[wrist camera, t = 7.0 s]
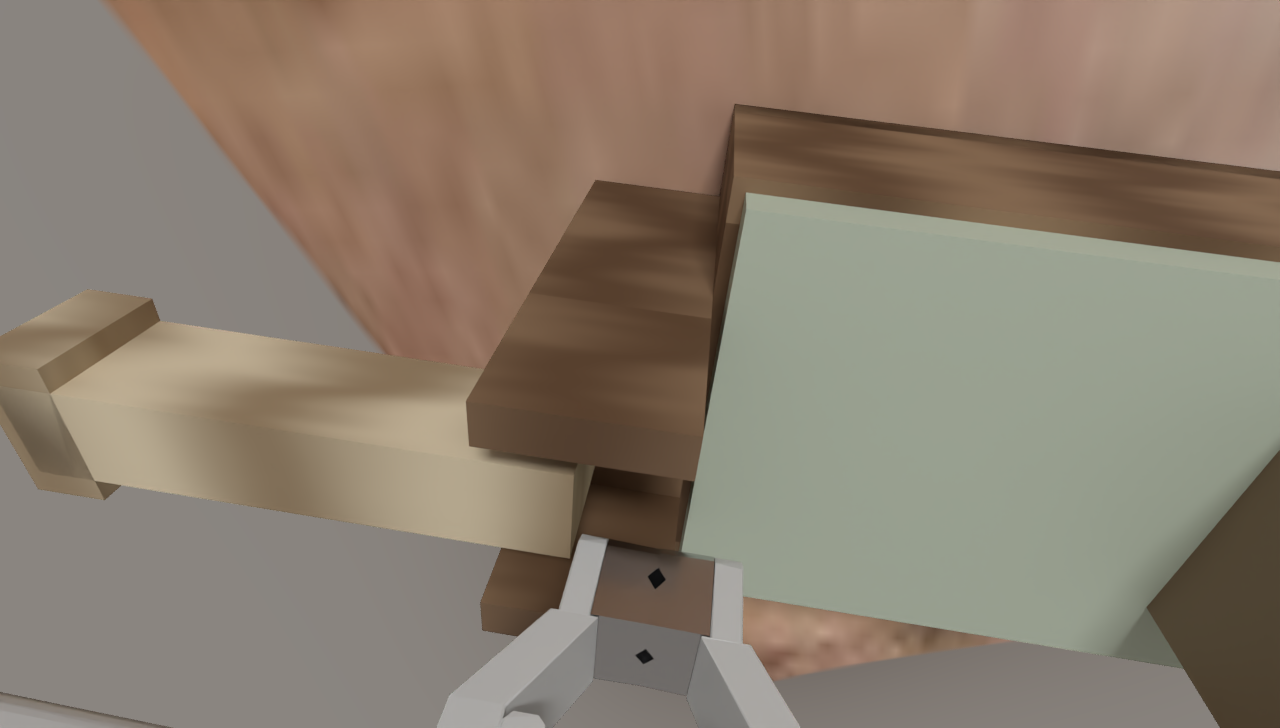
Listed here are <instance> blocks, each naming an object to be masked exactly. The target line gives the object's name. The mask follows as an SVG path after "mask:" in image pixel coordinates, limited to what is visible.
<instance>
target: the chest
mask: <svg viewBox="0 0 1280 728" xmlns="http://www.w3.org/2000/svg"><path fill="white" fill-rule="evenodd" d="M746 193H754V194H762V195H769V196H777V197H785V198H792V199H800V200H807V201H815V202H823V203H830V204H838V205H845V206H853V207H861V208H868V209H876V210H884V211H891V212H899V213H906V214H914V215H922V216H929V217H937V218H945V219H952V220H960V221H967V222H975V223H983V224H990V225H998V226H1006V227H1013V228H1021V229H1028V230H1036V231H1044V232H1051V233H1059V234H1066V235H1074V236H1082V237H1089V238H1097V239H1105V240H1112V241H1120V242H1127V243H1135V244H1143V245H1150V246H1158V247H1166V248H1173V249H1181V250H1188V251H1196V252H1204V253H1211V254H1219V255H1227V256H1234V257H1242V258H1249V259H1257V260H1265V261H1272V262H1280V171H1272V170H1264V169H1255V168H1247V167H1239V166H1231V165H1223V164H1215V163H1207V162H1199V161H1191V160H1183V159H1175V158H1167V157H1159V156H1151V155H1143V154H1135V153H1126V152H1118V151H1110V150H1102V149H1094V148H1086V147H1078V146H1070V145H1062V144H1054V143H1046V142H1038V141H1030V140H1022V139H1014V138H1006V137H997V136H989V135H981V134H973V133H965V132H957V131H949V130H941V129H933V128H925V127H917V126H909V125H901V124H893V123H885V122H877V121H868V120H860V119H852V118H844V117H836V116H828V115H820V114H812V113H804V112H796V111H788V110H780V109H772V108H764V107H756V106H748V105H739V104H735V107H734V113H733V119H732V125H731V131H730V137H729V143H728V149H727V155H726V161H725V167H724V173H723V180H722V186H721V192H720V196H712V195H705V194H697V193H690V192H682V191H674V190H667V189H659V188H652V187H644V186H636V185H629V184H621V183H614V182H606V181H599V180H595V182H594V184H593V186H592V187H591V189H590V191H589V192H588V194H587V196H586V197H585V199H584V201H583V203H582V204H581V206H580V208H579V209H578V211H577V213H576V214H575V216H574V218H573V220H572V221H571V223H570V225H569V226H568V228H567V230H566V231H565V233H564V235H563V237H562V238H561V240H560V242H559V243H558V245H557V247H556V248H555V250H554V252H553V254H552V255H551V257H550V259H549V260H548V262H547V264H546V265H545V267H544V269H543V271H542V272H541V274H540V276H539V277H538V279H537V281H536V283H535V284H534V286H533V288H532V289H531V291H530V293H529V294H528V296H527V298H526V300H525V301H524V303H523V305H522V306H521V308H520V310H519V311H518V313H517V315H516V317H515V318H514V320H513V322H512V323H511V325H510V327H509V328H508V330H507V332H506V334H505V335H504V337H503V339H502V340H501V342H500V344H499V345H498V347H497V349H496V351H495V352H494V354H493V356H492V357H491V359H490V361H489V362H488V364H487V366H486V368H485V369H484V371H483V373H482V374H481V376H480V378H479V379H478V381H477V383H476V385H475V386H474V388H473V390H472V391H471V393H470V395H469V396H468V398H467V400H466V412H467V426H468V439H469V446H470V447H476V448H483V449H489V450H495V451H502V452H508V453H515V454H521V455H528V456H534V457H540V458H547V459H553V460H560V461H566V462H573V463H579V464H585V465H592V466H595V468H594V471H593V475H592V479H591V482H590V486H589V490H588V494H587V497H586V501H585V505H584V508H583V512H582V516H581V520H580V523H579V527H578V531H577V534H576V538H575V542H574V545H573V549H572V553H571V557H570V559H569V558H563V557H557V556H550V555H544V554H538V553H532V552H526V551H520V550H514V549H508V548H501V550H500V553H499V556H498V558H497V561H496V563H495V566H494V568H493V571H492V574H491V576H490V579H489V581H488V584H487V587H486V589H485V592H484V594H483V597H482V599H481V602H480V603H481V604H480V605H481V617H482V630H483V631H489V632H495V633H500V634H506V635H512V636H519V635H520V634H521V633H522V632H523V631H525V630H526V629H527V628H528V627H529V626H530V625H532V624H533V623H534V622H535V621H536V620H537V619H539V618H540V617H541V616H542V615H543V614H544V613H546V612H547V611H548V610H549V609H550V608H553V609H559V606H560V603H561V599H562V596H563V592H564V589H565V585H566V582H567V578H568V575H569V571H570V568H571V565H572V561H573V558H574V554H575V551H576V547H577V544H578V541H579V539H580V537H581V535H582V534H586V535H591V536H596V537H602V538H607V539H613V540H618V541H623V542H627V543H632V544H637V545H642V546H647V547H652V548H657V549H661V548H662V549H668V550H675V551H679V548H680V542H681V537H682V532H683V526H684V521H685V516H686V510H687V505H688V500H689V494H690V489H691V484H692V481H695V478H696V473H697V468H698V462H699V457H700V452H701V447H702V441H703V434H704V419H705V409H706V403H707V398H708V393H709V387H710V382H711V377H712V371H713V366H714V360H715V355H716V350H717V344H718V339H719V334H720V328H721V323H722V318H723V312H724V307H725V302H726V296H727V291H728V286H729V280H730V275H731V269H732V264H733V259H734V253H735V248H736V243H737V237H738V232H739V227H740V221H741V216H742V211H743V205H744V200H745V194H746Z"/></svg>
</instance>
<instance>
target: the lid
mask: <svg viewBox="0 0 1280 728" xmlns="http://www.w3.org/2000/svg"><path fill="white" fill-rule="evenodd" d="M679 551H681V552H687V553H693V554H699V555H705V556H712V557H714V558H720V559H725V560H731V561H737V562H742V565H743V567H744V573H743V596H745V597H751V598H757V599H763V600H769V601H775V602H781V603H788V604H794V605H800V606H806V607H812V608H818V609H824V610H830V611H836V612H842V613H848V614H854V615H860V616H867V617H873V618H879V619H885V620H891V621H897V622H903V623H909V624H915V625H921V626H927V627H933V628H939V629H946V630H952V631H958V632H964V633H970V634H976V635H982V636H988V637H994V638H1000V639H1006V640H1012V641H1018V642H1025V643H1031V644H1037V645H1043V646H1049V647H1055V648H1061V649H1067V650H1073V651H1080V652H1086V653H1092V654H1097V655H1104V656H1110V657H1116V658H1122V659H1128V660H1134V661H1140V662H1146V663H1152V664H1159V665H1164V666H1171V667H1177V668H1183V669H1184V670H1185V671H1186V673H1187V675H1188V676H1189V678H1190V679H1191V681H1192V683H1193V684H1194V686H1195V688H1196V689H1197V691H1198V693H1199V694H1200V696H1201V697H1202V699H1203V701H1204V702H1205V704H1206V706H1207V707H1208V709H1209V710H1210V712H1211V714H1212V715H1213V717H1214V718H1215V720H1216V722H1217V723H1218V725H1219V726H1220V728H1280V262H1272V261H1265V260H1257V259H1249V258H1242V257H1234V256H1227V255H1219V254H1211V253H1204V252H1196V251H1188V250H1181V249H1173V248H1166V247H1158V246H1150V245H1143V244H1135V243H1127V242H1120V241H1112V240H1105V239H1097V238H1089V237H1082V236H1074V235H1066V234H1059V233H1051V232H1044V231H1036V230H1028V229H1021V228H1013V227H1006V226H998V225H990V224H983V223H975V222H967V221H960V220H952V219H945V218H937V217H929V216H922V215H914V214H906V213H899V212H891V211H884V210H876V209H868V208H861V207H853V206H845V205H838V204H830V203H823V202H815V201H807V200H800V199H792V198H785V197H777V196H769V195H762V194H754V193H746V194H745V200H744V205H743V211H742V216H741V221H740V227H739V232H738V237H737V243H736V248H735V253H734V259H733V264H732V269H731V275H730V280H729V286H728V291H727V296H726V302H725V307H724V312H723V318H722V323H721V328H720V334H719V339H718V344H717V350H716V355H715V360H714V366H713V371H712V377H711V382H710V387H709V393H708V398H707V403H706V409H705V419H704V434H703V441H702V447H701V452H700V457H699V462H698V468H697V473H696V478H695V481H692V484H691V489H690V494H689V500H688V505H687V510H686V516H685V521H684V526H683V532H682V537H681V542H680V548H679Z"/></svg>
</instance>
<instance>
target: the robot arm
mask: <svg viewBox="0 0 1280 728" xmlns="http://www.w3.org/2000/svg"><path fill="white" fill-rule="evenodd" d="M743 573H744V567H743V565H742V562H737V561H731V560H725V559H720V558H714V557H712V556H705V555H699V554H693V553H687V552H681V551H675V550H668V549H662V548H661V549H657V548H652V547H647V546H642V545H637V544H632V543H627V542H623V541H618V540H613V539H607V538H602V537H596V536H591V535H586V534H582V535H581V537H580V539H579V541H578V544H577V547H576V551H575V554H574V558H573V561H572V565H571V568H570V571H569V575H568V578H567V582H566V585H565V589H564V592H563V596H562V599H561V603H560V606H559V609H553V608H550V609H549V610H548V611H547V612H546V613H544V614H543V615H542V616H541V617H540V618H539V619H537V620H536V621H535V622H534V623H533V624H532V625H530V626H529V627H528V628H527V629H526V630H525V631H523V632H522V633H521V634H520V635H519V636H518V637H516V638H515V639H514V640H513V641H512V642H511V643H510V644H508V645H507V646H506V647H505V648H504V649H502V650H501V651H500V652H499V653H498V654H497V655H496V656H494V657H493V658H492V659H491V660H490V661H489V662H487V663H486V664H485V665H484V666H483V667H482V668H480V669H479V670H478V671H477V672H476V673H475V674H473V675H472V676H471V677H470V678H469V679H468V680H466V681H465V682H464V683H463V684H462V685H461V686H459V687H458V688H457V689H456V690H455V691H454V692H452V693H451V694H450V695H449V697H448V700H447V702H446V705H445V707H444V710H443V712H442V715H441V717H440V719H439V722H438V724H437V727H436V728H553V727H554V725H555V724H556V723H557V722H558V721H559V720H560V718H561V717H562V716H563V715H564V714H565V713H566V712H567V710H568V709H569V708H570V707H571V706H572V704H574V702H575V701H576V700H577V699H578V698H579V697H580V696H581V694H582V693H583V692H584V691H585V690H586V689H587V688H588V686H589V685H590V684H591V683H592V682H593V678H595V679H601V680H608V681H613V682H619V683H626V684H632V685H638V686H643V687H647V688H652V689H656V690H661V691H666V692H670V693H675V694H679V695H684V696H687V698H686V699H687V702H688V704H689V706H690V709H691V711H692V713H693V716H694V718H695V721H696V723H697V725H698V728H801V727H800V726H799V724H798V722H797V721H796V719H795V718H794V716H793V714H792V712H791V711H790V709H789V707H788V706H787V704H786V702H785V701H784V699H783V698H782V696H781V694H780V693H779V691H778V689H777V688H776V686H775V684H774V683H773V681H772V679H771V678H770V676H769V674H768V673H767V671H766V669H765V668H764V666H763V665H762V663H761V661H760V660H759V658H758V656H757V655H756V653H755V651H754V650H753V648H752V646H751V645H747V644H743ZM640 682H641V683H640ZM0 728H171V727H167V726H162V725H157V724H152V723H148V722H143V721H138V720H133V719H128V718H123V717H119V716H114V715H109V714H104V713H99V712H94V711H89V710H84V709H80V708H74V707H70V706H65V705H60V704H55V703H51V702H46V701H41V700H36V699H32V698H27V697H22V696H17V695H12V694H7V693H3V692H0Z"/></svg>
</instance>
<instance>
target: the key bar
mask: <svg viewBox="0 0 1280 728" xmlns="http://www.w3.org/2000/svg"><path fill="white" fill-rule="evenodd" d="M483 371H484V369H480V368H473V367H466V366H460V365H453V364H446V363H439V362H433V361H426V360H419V359H413V358H406V357H399V356H392V355H386V354H379V353H372V352H366V351H359V350H352V349H345V348H339V347H332V346H325V345H319V344H312V343H305V342H298V341H291V340H285V339H278V338H271V337H265V336H258V335H251V334H245V333H237V332H231V331H224V330H218V329H211V328H204V327H198V326H191V325H184V324H178V323H171V322H164V321H160V319H159V316H158V314H157V311H156V308H155V305H154V303H153V300H152V299H150V298H144V297H136V296H130V295H123V294H116V293H110V292H103V291H96V290H89V289H87V290H85V291H83V292H82V293H80V294H78V295H76V296H74V297H72V298H70V299H69V300H67V301H65V302H63V303H61V304H59V305H58V306H56V307H54V308H52V309H50V310H48V311H46V312H44V313H43V314H41V315H39V316H37V317H35V318H33V319H32V320H30V321H28V322H26V323H24V324H22V325H20V326H19V327H17V328H15V329H13V330H11V331H9V332H8V333H5V334H4V335H2V336H0V425H1V426H2V428H3V430H4V432H5V433H6V435H7V437H8V439H9V440H10V442H11V444H12V445H13V447H14V449H15V450H16V452H17V454H18V456H19V457H20V459H21V461H22V462H23V464H24V466H25V467H26V469H27V471H28V473H29V474H30V476H31V478H32V479H33V481H34V482H35V484H36V486H37V488H38V489H40V490H47V491H52V492H59V493H64V494H71V495H77V496H84V497H89V498H95V499H101V500H105V499H106V498H108V497H109V496H110V495H111V494H112V493H113V492H114V491H115V490H117V489H118V488H119V487H120V486H121V485H123V486H129V487H136V488H141V489H148V490H154V491H160V492H166V493H172V494H178V495H184V496H191V497H197V498H202V499H209V500H215V501H221V502H227V503H233V504H239V505H246V506H251V507H257V508H264V509H270V510H276V511H282V512H288V513H294V514H300V515H306V516H313V517H318V518H325V519H331V520H337V521H343V522H349V523H356V524H361V525H367V526H373V527H379V528H386V529H392V530H398V531H404V532H410V533H416V534H422V535H428V536H435V537H441V538H447V539H453V540H459V541H466V542H471V543H477V544H484V545H490V546H496V547H502V548H508V549H514V550H520V551H526V552H532V553H538V554H544V555H550V556H557V557H563V558H569V559H570V557H571V553H572V549H573V545H574V542H575V538H576V534H577V531H578V527H579V523H580V520H581V516H582V512H583V508H584V505H585V501H586V497H587V494H588V490H589V486H590V482H591V479H592V475H593V471H594V468H595V466H592V465H585V464H579V463H573V462H566V461H560V460H553V459H547V458H540V457H534V456H528V455H521V454H515V453H508V452H502V451H495V450H489V449H483V448H476V447H470V446H469V439H468V426H467V412H466V400H467V398H468V396H469V395H470V393H471V391H472V390H473V388H474V386H475V385H476V383H477V381H478V379H479V378H480V376H481V374H482V373H483Z"/></svg>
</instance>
